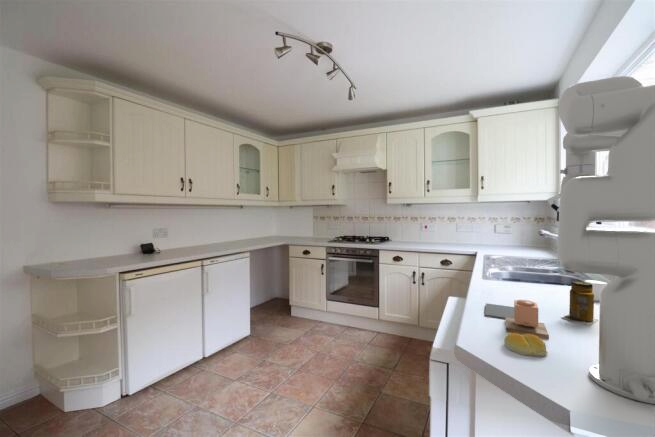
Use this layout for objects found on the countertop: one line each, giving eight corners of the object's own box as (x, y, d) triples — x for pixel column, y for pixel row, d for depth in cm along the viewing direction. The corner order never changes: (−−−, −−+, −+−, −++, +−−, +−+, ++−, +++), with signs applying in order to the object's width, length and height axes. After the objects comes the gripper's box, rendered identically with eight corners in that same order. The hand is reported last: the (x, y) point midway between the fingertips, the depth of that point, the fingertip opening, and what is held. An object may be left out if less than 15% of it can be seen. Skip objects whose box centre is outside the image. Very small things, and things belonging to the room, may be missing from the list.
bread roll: (500, 341, 81) (500, 326, 81) (538, 345, 78) (539, 330, 78) (509, 355, 73) (509, 339, 73) (552, 360, 70) (552, 343, 70)
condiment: (598, 320, 96) (599, 283, 96) (589, 325, 91) (590, 287, 91) (570, 313, 102) (571, 279, 102) (560, 318, 97) (561, 282, 97)
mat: (535, 323, 93) (535, 321, 93) (484, 316, 100) (484, 314, 100) (530, 311, 105) (531, 309, 105) (486, 304, 112) (486, 303, 112)
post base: (548, 339, 81) (548, 335, 81) (506, 332, 86) (506, 328, 86) (543, 327, 90) (544, 323, 90) (505, 321, 95) (505, 317, 95)
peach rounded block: (538, 328, 84) (538, 306, 84) (515, 324, 87) (515, 303, 86) (535, 320, 90) (535, 300, 90) (513, 317, 93) (514, 297, 93)
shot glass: (580, 297, 122) (580, 280, 121) (589, 295, 124) (589, 279, 124) (601, 302, 115) (602, 284, 115) (610, 300, 118) (610, 282, 118)
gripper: (549, 172, 99) (548, 223, 99) (619, 168, 90) (618, 224, 90) (546, 175, 105) (545, 223, 105) (611, 171, 96) (610, 224, 97)
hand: (579, 223), depth 98 cm, fingers open, 9 cm apart
